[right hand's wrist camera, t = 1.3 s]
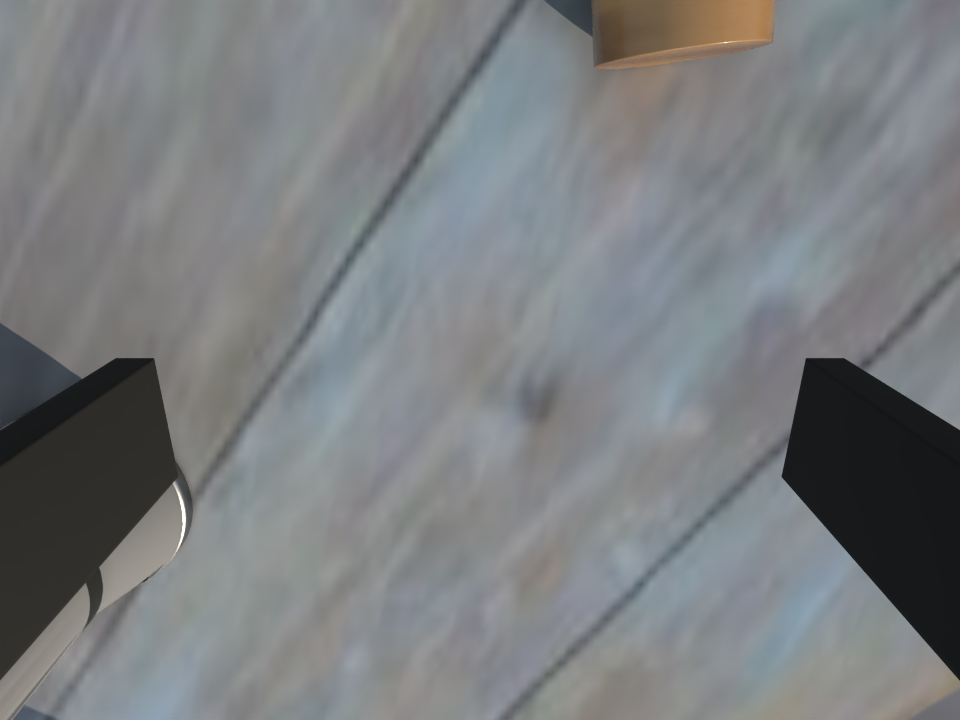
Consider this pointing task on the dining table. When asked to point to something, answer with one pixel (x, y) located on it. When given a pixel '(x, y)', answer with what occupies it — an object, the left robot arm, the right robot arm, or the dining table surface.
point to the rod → (676, 30)
